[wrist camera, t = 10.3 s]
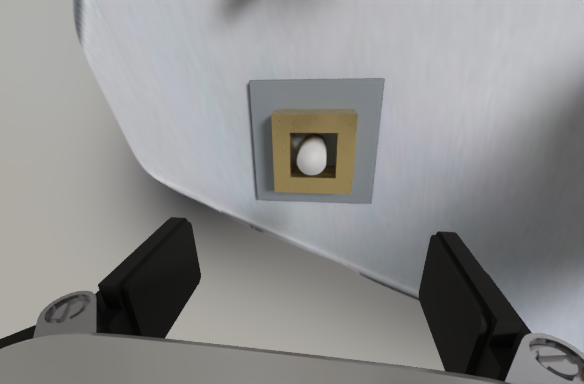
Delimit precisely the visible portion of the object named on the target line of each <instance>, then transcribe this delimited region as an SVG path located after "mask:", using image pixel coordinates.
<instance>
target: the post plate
mask: <svg viewBox="0 0 584 384" xmlns="http://www.w3.org/2000/svg"><path fill="white" fill-rule="evenodd" d="M384 80H385V79H383V78H372V79H302V80H250V81H249V85H250V99H251V113H252V127H253V141H254V155H255V169H256V183H257V197H258V200H278V201H307V202H337V203H366V204H371V203H372V193H373V184H374V175H375V165H376V156H377V146H378V137H379V127H380V118H381V109H382V99H383V90H384ZM277 109H355V111H356V112H357V114H358V119H357V132H356V145H355V159H354V172H353V185H352V195H349V194H318V193H286V192H275V188H274V165H273V143H272V120H271V114H272V113H273V112H275V111H276V110H277ZM335 149H336V133H294V154H295V165H298V168H299V169H300V170H301V171H302V172H303V173H305V174H307V175H316V174H319V173H320V172H322V171H323V170H324V168H325V166H335Z"/></svg>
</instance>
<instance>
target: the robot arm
mask: <svg viewBox="0 0 584 384" xmlns="http://www.w3.org/2000/svg"><path fill="white" fill-rule="evenodd" d="M200 278H201V273H200V268H199V262H198V257H197V252H196V246H195V240H194V235H193V230H192V225H191V223H190V222H188V221H187V219H186V218H176V217H171V218H170V219H168V220H167V221H166V222H165V223H164V224H163V225H162V226H161V227H160V228H159V229H157V230H156V231H155V232H154V233H153V234H152V235H151V236H150V237H149V238H148V239H147V240H146V241H145V242H143V243H142V244H141V245H140V246H139V247H138V248H137V249H136V250H135V251H134V252H133V253H132V254H130V255H129V256H128V257H127V258H126V259H125V260H124V261H123V262H122V263H121V264H120V265H119V266H118V267H116V268H115V269H114V271H112V272H111V273H110V274H109V275H108V276H107V277H106V278H105V279H103V280H102V281H101V282H100V283H99V284H98V287H99V289H100V290H99V291H98V292H97V293H96V294H94V293H92V292H90V291H77V292H74V293H70V294H68V295H65V296H63V297H60V298H59V299H57V300H55V301H53V302H52V303H51V304H49V305H48V306H47V307H45V309H44V310H43V311H42V312H41V313H40V316H39V317H38V320H37V324H36V325H35V326H32V327H30V328H27V329H25V330H22V331H20V332H17V333H15V334H12V335H10V336H7V337H5V338H2V339H0V384H584V353H582V352H581V351H580V350H578V349H577V348H576V347H574V346H572V345H571V344H569V343H567V342H565V341H564V340H561V339H559V338H556V337H554V336H551V335H547V334H543V333H531V331H530V330H529V329H528V327H527V326H526V325H525V323H524V322H523V321H522V319H521V318H520V317H519V315H518V314H517V312H516V311H515V310H514V308H513V307H512V306H511V304H510V303H509V302H508V300H507V299H506V298H505V296H504V295H503V294H502V292H501V291H500V290H499V288H498V287H497V286H496V284H495V283H494V282H493V280H492V279H491V278H490V276H489V275H488V274H487V273H486V272H485V271H484V270H483V268H482V267H481V266H480V264H479V263H478V262H477V260H476V259H475V258H474V256H473V255H472V253H471V252H470V251H469V249H468V248H467V247H466V245H465V244H464V243H463V241H462V240H461V239H460V237H459V236H458V234H457V233H455V232H437V233H436V235H432V236H431V238H430V243H429V247H428V252H427V257H426V261H425V266H424V271H423V275H422V280H421V285H420V289H419V300H420V303H421V306H422V309H423V312H424V314H425V317H426V320H427V322H428V325H429V328H430V331H431V333H432V336H433V339H434V342H435V344H436V347H437V350H438V352H439V355H440V358H441V361H442V363H443V366H444V369H445V371H440V370H432V369H424V368H417V367H410V366H402V365H393V364H386V363H377V362H369V361H360V360H352V359H342V358H334V357H326V356H318V355H309V354H300V353H291V352H283V351H274V350H265V349H256V348H247V347H238V346H230V345H220V344H210V343H202V342H191V341H183V340H172V339H165V337H166V335H167V334H168V332H169V330H170V329H171V327H172V326H173V324H174V322H175V321H176V319H177V318H178V316H179V314H180V313H181V311H182V309H183V308H184V306H185V304H186V303H187V302H188V300H189V298H190V297H191V295H192V294H193V292H194V290H195V289H196V287H197V285H198V284H199V282H200Z"/></svg>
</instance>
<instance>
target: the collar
mask: <svg viewBox="0 0 584 384" xmlns="http://www.w3.org/2000/svg"><path fill="white" fill-rule="evenodd" d="M357 119H358V114H357V112H356V111H355V109H277V110H276V111H275V112H273V113H272V114H271V120H272V143H273V165H274V188H275V192H286V193H318V194H349V195H352V185H353V172H354V159H355V145H356V132H357ZM294 133H336V149H335V166H325V168H324V170H323V171H322V172H320V173H319V174H316V175H307V174H305V173H303V172H302V171H301V170H300V169H299V168H298V165H295V154H294Z"/></svg>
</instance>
